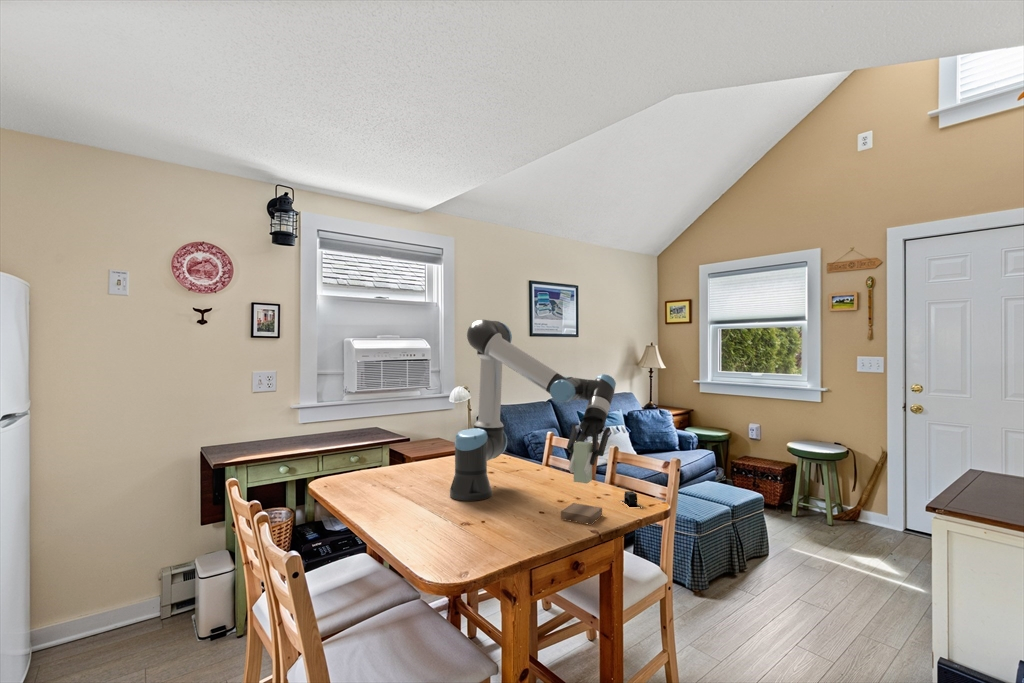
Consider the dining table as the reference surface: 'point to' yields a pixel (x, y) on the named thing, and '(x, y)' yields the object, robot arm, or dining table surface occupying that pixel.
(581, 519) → the slab
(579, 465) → the pillar
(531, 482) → the dining table surface
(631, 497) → the black boxy device
